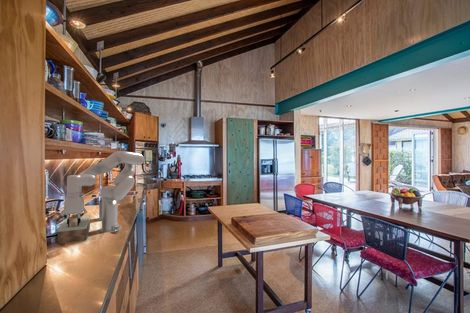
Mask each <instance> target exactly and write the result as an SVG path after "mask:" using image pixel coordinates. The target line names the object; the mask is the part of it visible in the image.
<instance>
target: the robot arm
mask: <svg viewBox="0 0 470 313" xmlns="http://www.w3.org/2000/svg"><path fill="white" fill-rule="evenodd" d="M144 163H145V156H144V155H143V154H141V153H137V152H132V151H125V150H124V151H123V150H121V151H120V150H117V151H114V152H113V153H111V154H110V155H108V156H107V157H106V158H104V159H103V160H102V161H100V162H97V163H95V164H93V165H91V166H89V167H87V168H85V169H84V170H82V171H81V172H80V173H79V174H71V175H67V177H66V197H65V199H64V202H63V209H62V211H61V212H60V213H59V215H60V216H61V217H63V218H64V219H67V224H68V226H69V218H70V217H71V215H73V214H78V219H77V225H79V223H80V220H81V217H84V215H85V214H87V213H88V211H87V209H86V208H85V200H84V196H85V192H82V191H83V190H82V187H91V186H94V185H95V184H97V181H98V179H97V176H98V175H101V174H105V173H106V174H107V173H108V172H111V171H112V170H114V169H115V168H116V167H117V166H119V165H120V164H124V168H123V169H122V170H120V172H119V173H118V174H117V175H116V176H115V178H114V179H113V181H112V183H113V185H106V186H104V187H102V189H101V190H100V198H101V199H102V220H101V228H100V229H98V230H99V232H101V233H110V234H112V233H115V232H116V233H117V232H118V231H119V230H122V225H119V222H118V201H120V200H121V201H122V199H124V198H125V197H126V196H127V194H128V193H129V192H130V191H131V190H132V189H133V188H134V186H135V183H136V182H135V181H136V180H135V178H134V175H135V173H136V166H140V165H142V164H144Z"/></svg>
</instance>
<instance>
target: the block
mask: <svg viewBox="0 0 470 313" xmlns="http://www.w3.org/2000/svg"><path fill="white" fill-rule="evenodd" d="M77 219H78V216H75V217H72V216H70V218H69V227H75V226H78V225H77Z"/></svg>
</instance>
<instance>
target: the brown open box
mask: <svg viewBox="0 0 470 313" xmlns="http://www.w3.org/2000/svg"><path fill="white" fill-rule="evenodd" d="M90 229H91V219H90V220H89V223H88V225H87V228H86V229H79V230H70V231H61V232H58V231H57V245H58V244H59V245H60V244H68V243H76V242H82V241H86V240H87V238H88V236H89V232H90Z"/></svg>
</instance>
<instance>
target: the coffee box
mask: <svg viewBox="0 0 470 313" xmlns="http://www.w3.org/2000/svg"><path fill="white" fill-rule="evenodd" d="M98 203H99V204H98V205H99V210H98V211H99V212H98V215H99V216H98V218H99V221H102V198H101V199H100V200H99V201H98Z"/></svg>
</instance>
